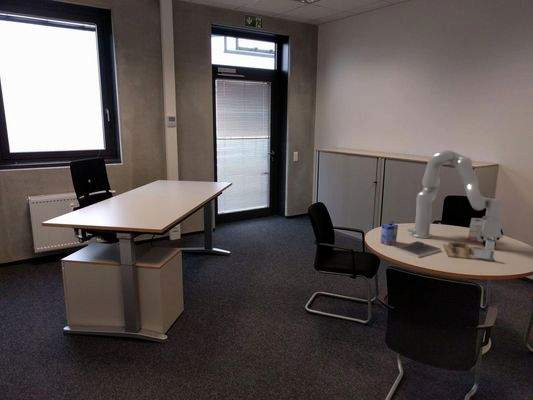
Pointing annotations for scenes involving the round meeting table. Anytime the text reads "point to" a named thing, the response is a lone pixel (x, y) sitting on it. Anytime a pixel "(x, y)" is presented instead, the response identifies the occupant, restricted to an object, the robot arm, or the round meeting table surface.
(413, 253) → the picture frame
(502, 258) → the round meeting table surface
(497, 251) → the round meeting table surface
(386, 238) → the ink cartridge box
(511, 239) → the round meeting table surface
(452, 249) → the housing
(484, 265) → the round meeting table surface
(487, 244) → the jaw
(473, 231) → the ink cartridge box
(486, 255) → the gate
